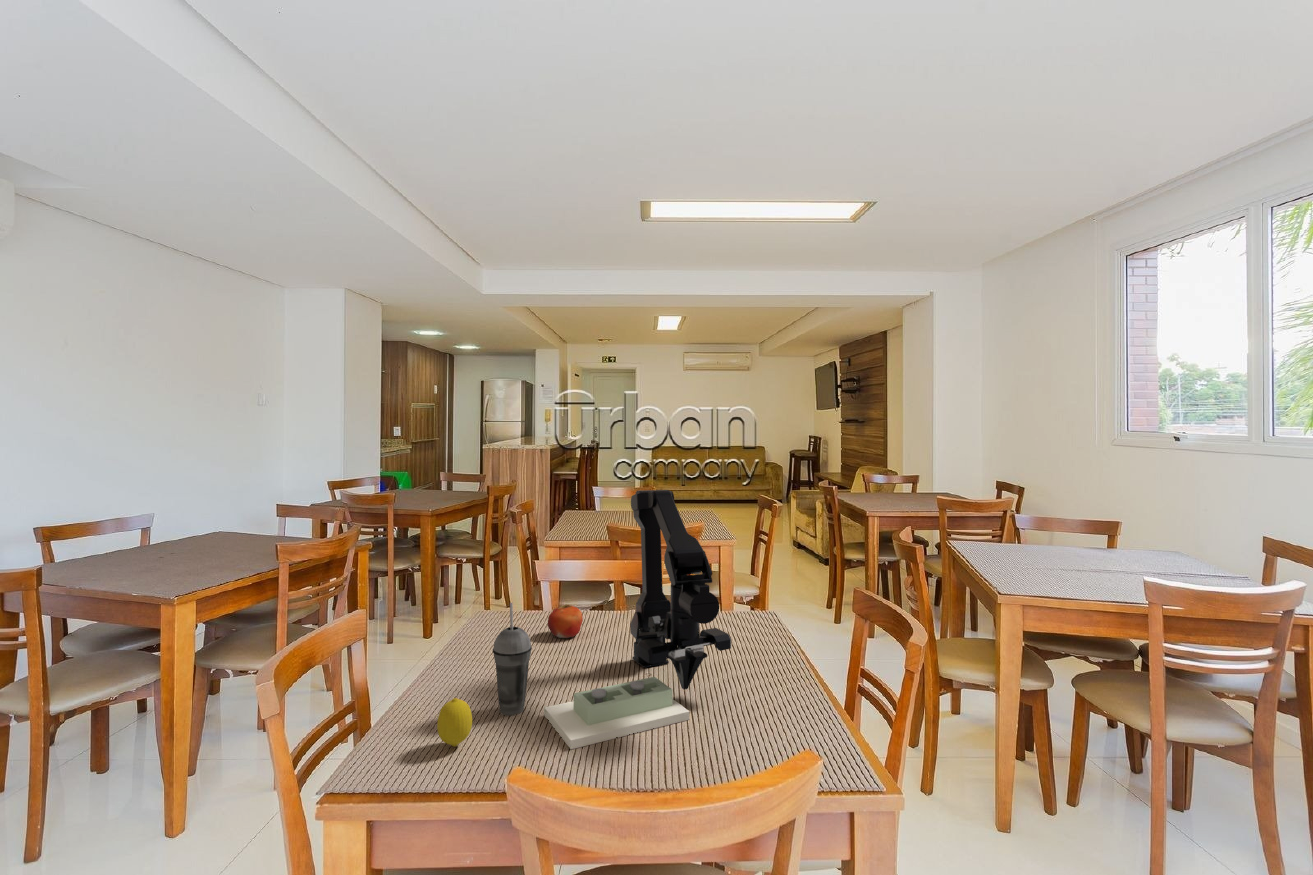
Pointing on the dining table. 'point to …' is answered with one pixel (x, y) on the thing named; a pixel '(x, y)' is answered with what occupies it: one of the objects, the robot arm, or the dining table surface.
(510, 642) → the beverage cup
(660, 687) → the panel
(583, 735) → the board
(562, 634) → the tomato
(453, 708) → the lemon
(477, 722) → the dining table surface
